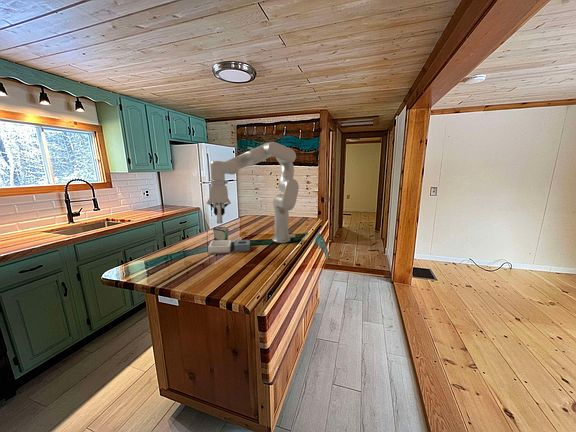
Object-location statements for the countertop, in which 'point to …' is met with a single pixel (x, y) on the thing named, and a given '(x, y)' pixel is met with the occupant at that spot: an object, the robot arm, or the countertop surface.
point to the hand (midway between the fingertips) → (219, 214)
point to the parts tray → (219, 246)
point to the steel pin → (219, 213)
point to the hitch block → (242, 245)
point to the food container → (220, 233)
